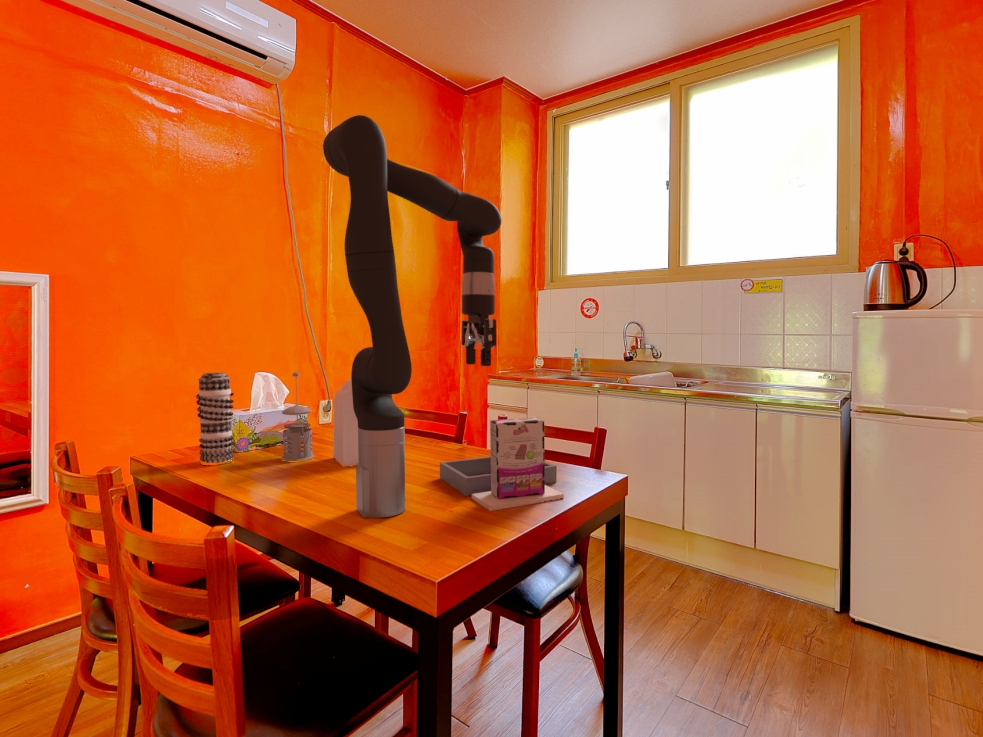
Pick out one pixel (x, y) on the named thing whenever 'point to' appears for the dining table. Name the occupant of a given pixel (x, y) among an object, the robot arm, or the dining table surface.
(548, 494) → the board
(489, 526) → the dining table surface
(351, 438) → the milk
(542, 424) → the candy bar box
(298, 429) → the french press
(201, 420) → the decorative candle
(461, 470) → the bin
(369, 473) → the robot arm
